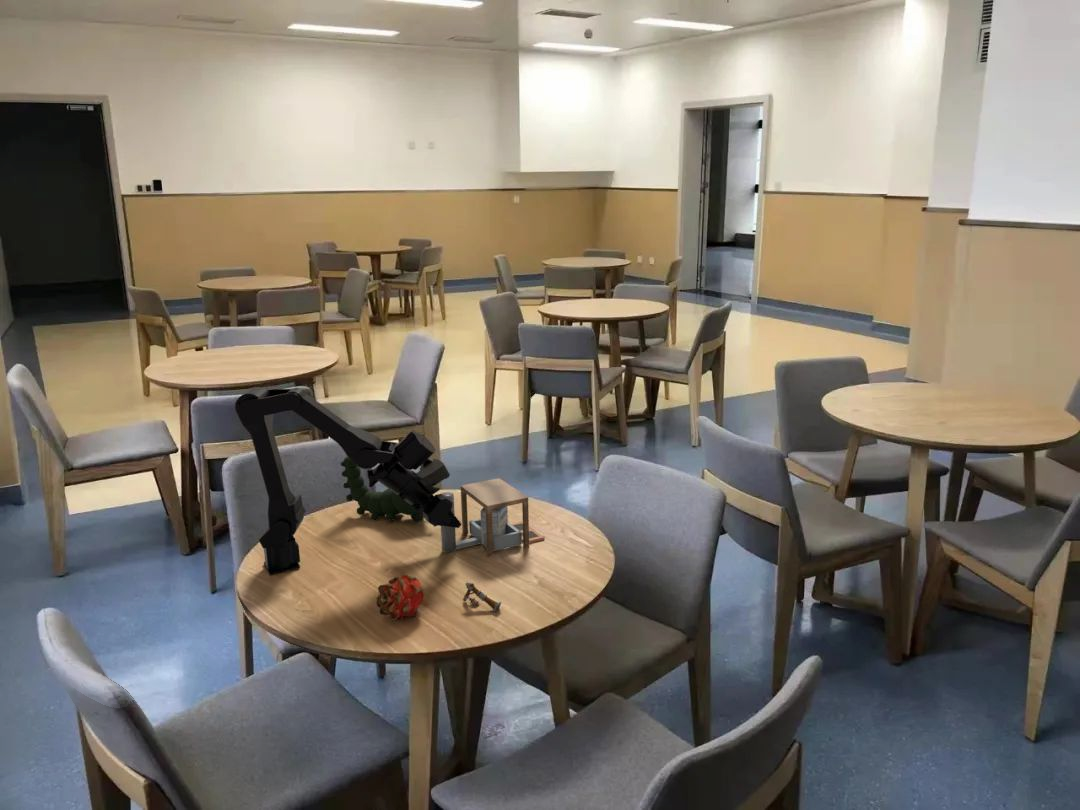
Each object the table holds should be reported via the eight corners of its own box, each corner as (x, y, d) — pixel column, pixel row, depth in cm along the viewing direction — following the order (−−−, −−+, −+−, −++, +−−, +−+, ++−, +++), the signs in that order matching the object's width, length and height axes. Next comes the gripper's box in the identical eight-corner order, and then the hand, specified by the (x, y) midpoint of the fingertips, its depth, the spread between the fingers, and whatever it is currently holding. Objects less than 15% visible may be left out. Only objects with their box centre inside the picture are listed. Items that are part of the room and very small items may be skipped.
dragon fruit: (383, 638, 151) (411, 616, 162) (418, 617, 148) (443, 595, 160) (359, 599, 151) (388, 579, 163) (393, 577, 149) (420, 558, 160)
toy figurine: (343, 527, 202) (436, 528, 195) (331, 454, 198) (425, 452, 190) (361, 513, 211) (451, 513, 203) (350, 442, 206) (441, 440, 199)
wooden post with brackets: (462, 595, 162) (469, 578, 160) (494, 618, 159) (502, 601, 157) (457, 599, 160) (464, 581, 158) (489, 622, 157) (497, 605, 156)
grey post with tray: (452, 560, 178) (450, 504, 174) (432, 541, 188) (429, 488, 185) (521, 544, 185) (520, 490, 182) (498, 526, 196) (497, 475, 192)
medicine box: (500, 547, 185) (499, 511, 182) (481, 545, 185) (480, 510, 183) (508, 533, 192) (507, 498, 190) (490, 531, 193) (489, 497, 191)
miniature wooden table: (489, 556, 180) (487, 505, 177) (462, 533, 193) (460, 485, 190) (529, 547, 185) (528, 497, 182) (500, 524, 197) (499, 478, 194)
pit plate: (525, 544, 186) (525, 541, 186) (504, 527, 196) (504, 525, 196) (544, 539, 189) (544, 536, 189) (522, 523, 198) (522, 520, 198)
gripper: (441, 463, 167) (492, 503, 175) (410, 440, 183) (458, 478, 191) (407, 506, 166) (459, 545, 174) (378, 480, 182) (428, 516, 190)
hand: (451, 519), depth 182 cm, fingers open, 9 cm apart
